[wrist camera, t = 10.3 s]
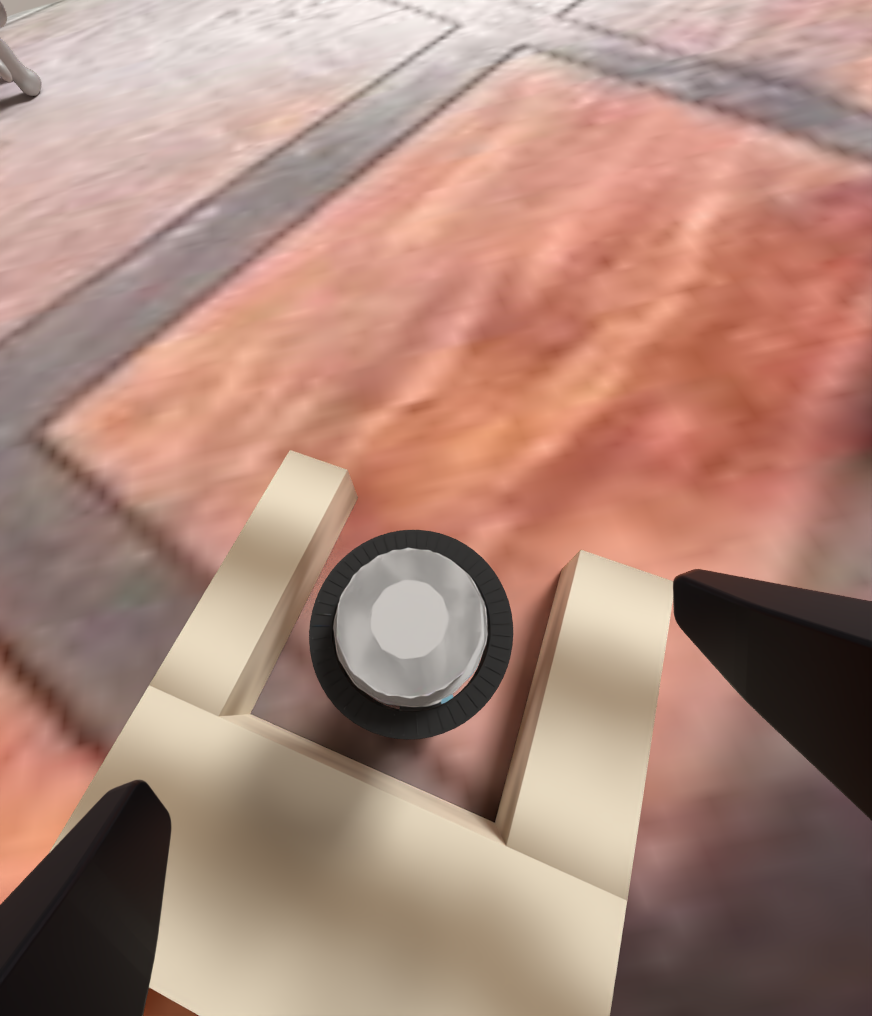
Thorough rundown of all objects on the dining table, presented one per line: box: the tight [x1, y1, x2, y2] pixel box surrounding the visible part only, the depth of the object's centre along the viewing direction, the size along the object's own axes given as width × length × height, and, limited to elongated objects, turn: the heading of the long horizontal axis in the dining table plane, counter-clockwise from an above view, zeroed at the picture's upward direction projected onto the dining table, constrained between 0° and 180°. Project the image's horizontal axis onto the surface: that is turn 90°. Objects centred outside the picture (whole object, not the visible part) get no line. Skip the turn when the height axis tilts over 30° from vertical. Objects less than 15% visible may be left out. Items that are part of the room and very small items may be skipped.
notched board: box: [49, 450, 673, 1016], centre depth 17 cm, size 18×18×3 cm
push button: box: [309, 530, 513, 739], centre depth 15 cm, size 7×5×10 cm
